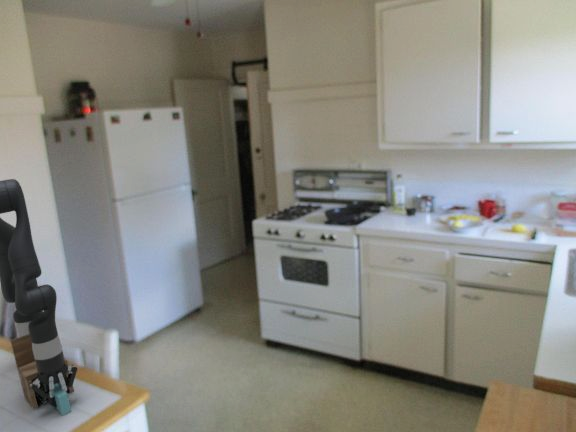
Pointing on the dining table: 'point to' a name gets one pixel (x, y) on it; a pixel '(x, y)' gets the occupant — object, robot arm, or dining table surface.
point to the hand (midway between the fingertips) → (60, 403)
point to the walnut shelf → (29, 369)
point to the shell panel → (60, 399)
